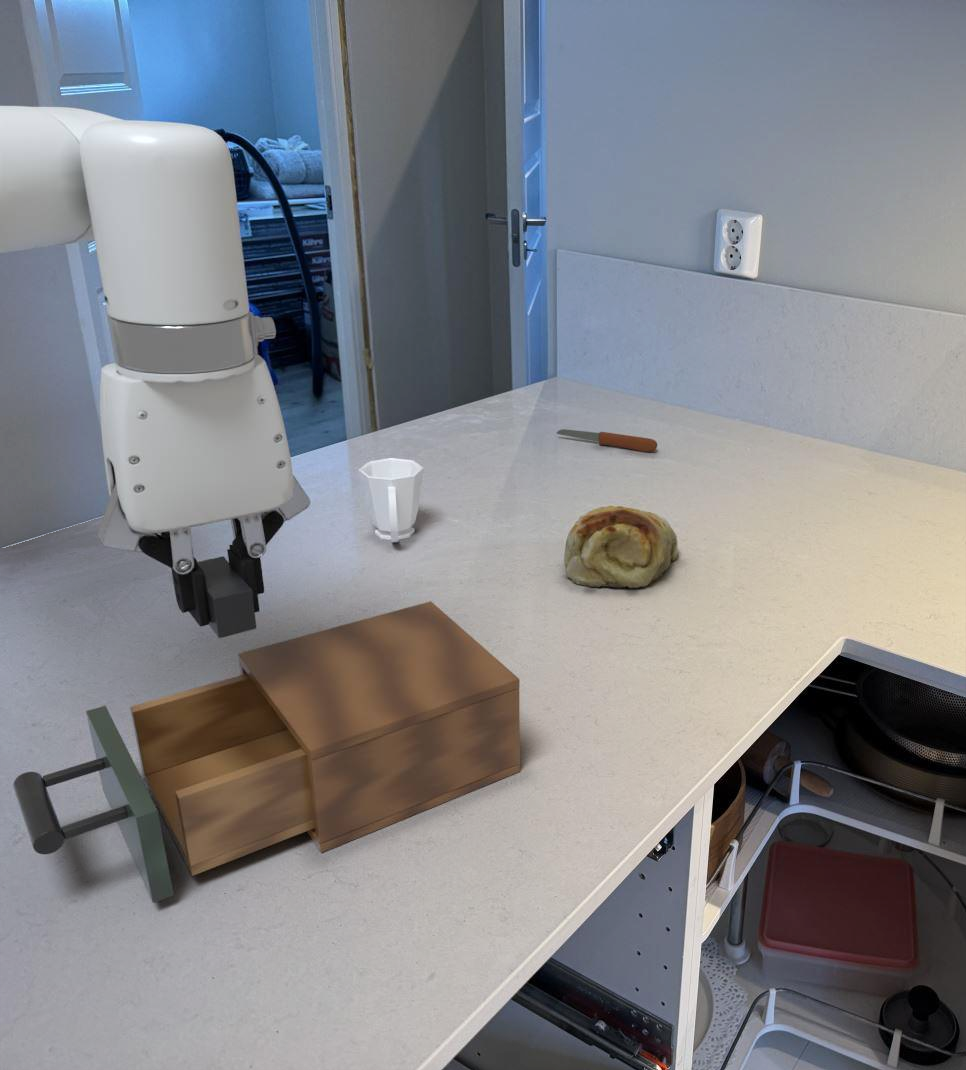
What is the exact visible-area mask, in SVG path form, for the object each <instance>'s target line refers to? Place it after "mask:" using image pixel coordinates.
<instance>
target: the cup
mask: <svg viewBox="0 0 966 1070" xmlns="http://www.w3.org/2000/svg"><path fill="white" fill-rule="evenodd" d="M358 474H359V479H360V482H361V487H362V490H363V494H364V498H365V503H366V507H367V510H368V513H369V516H370V518H371V521H372V524H373V526H375V527H376V529H375V530H374V534H375V535H376V536H377V537H378V538H379V539H380V540H388V541H390V543H399V542H400V540H404V539H409V538H411V536H412V535H413V534H414V533H415V528H414V527H413V525H414V524H415V523H416V520H417V515H418V511H419V507H420V499H421V491H422V483H423V476H424V475H423V474H424V467H423V466H422V465H421V464H419V463H418V462H416V461H415V460H413V459H404V458H395V457H389V458H382V459H375V460H370V461H367V462H366V463H365V464H364V465H362V466H361V467H360V468H359V469H358Z"/></svg>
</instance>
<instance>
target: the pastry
mask: <svg viewBox="0 0 966 1070" xmlns="http://www.w3.org/2000/svg"><path fill="white" fill-rule="evenodd" d="M678 544H679V543H678V536H677V534H676V532H675V531H674V529H673V528H672V527H671V525H670V522H669V521H668V520H666V518H664V517H662V516H660V515H658V514H657V513H654V512H652V511H651V512H650V511H646V510H640V509H638V508H633V507H626V506H622V505H620V506H615V505H608V506H601V507H597V508H594V509H592V510H590V511H588V512H587V513H585V514H583V515H580V516H579V519H578V520H576V521H575V523H574V525H573V526H572V528H571V529H570V531H569V532H568V534H567V538H566V542H565V546H564V547H565V548H564V554H563V564H564V566H565V568H566V569H565V574H566V575H567V576H566V578H569V579H570V580H571V582H572V583H574V584H577V585H581V586H588V587H589V588H595V587H596V588H601V587H608V588H610V587H612V588H618V589H619V588H620V589H621V588H625V587H628V588H630V589H633V588H634V589H638V588H641V587H643V588H645V587H647V586H649V585H650V584H651V583H654V582H655V581H656V580H659V578H660V577H662V576H663V575H664V572H665V571H667V570H668V568H669V567H670V564H671V562H675V561H676V559H677V558H678V555H679V551H678V550H679V549H678V546H679V545H678Z"/></svg>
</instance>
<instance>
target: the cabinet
mask: <svg viewBox="0 0 966 1070" xmlns="http://www.w3.org/2000/svg"><path fill="white" fill-rule="evenodd" d="M237 659H238V666H239V676H240V675H243V674H248V675H249V677H250V678H251V679H252V681H253V682H254V684H255V685H256V686H257V688H258V689H259V690H260V692H261V693H262V694H263V696H264V697H265V698H266V700H267V701H268V703H269V704H270V705H271V707H272V708H273V709H274V711H275V712H276V713H277V715H278V716H279V717H280V719H281V720H282V721H283V723H284V724H285V726H286V727H287V728H288V730H289V731H290V732H291V734H292V735H293V736H294V738H295V739H296V740H297V742H298V743H299V745H300V746H301V747H302V749H303V750H304V751H305V753H306V754H307V760H308V769H309V778H310V787H311V796H312V806H313V815H314V824H315V828H313V829H311V830H308V831H306V832H307V834H308V836H309V837H310V839H311V840H312V841H313V843H314V845H315V846H316V847H317V849H318V850H319V852H320V853H325V852H327V851H330V850H333V849H334V848H337V847H340V846H342V845H344V844H346V843H349V842H351V841H355V840H357V839H359V838H361V837H363V836H366V835H369V834H371V833H373V832H376V831H378V830H381V829H383V828H385V827H388V826H392V825H393V824H396V823H398V822H400V821H403V820H405V819H408V818H410V817H413V816H415V815H417V814H421V813H422V812H425V811H427V810H430V809H432V808H434V807H437V806H440V805H442V804H445V803H447V802H449V801H452V800H454V799H456V798H459V797H461V796H463V795H466V794H469V793H472V792H474V791H476V790H478V789H481V788H484V787H486V786H488V785H490V784H493V783H495V782H498V781H501V780H503V779H505V778H508V777H511V776H513V775H515V774H518V773H520V770H521V769H520V768H521V765H520V763H521V761H520V759H521V755H520V754H521V753H520V752H521V751H520V750H521V749H520V748H521V747H520V745H521V743H520V742H521V741H520V736H521V735H520V734H521V733H520V732H521V731H520V730H521V729H520V728H521V727H520V726H521V725H520V724H521V723H520V715H521V714H520V713H521V712H520V684H521V683H520V681H521V680H520V677H518V676H517V675H516V674H515V673H513V672H512V671H511V670H510V669H509V668H508V667H506V665H504V664H503V663H502V662H501V661H500V660H499V659H497V657H496V656H494V655H493V654H492V653H491V652H489V651H488V649H486V648H485V647H484V646H483V645H482V644H480V642H478V641H477V640H476V639H475V638H473V636H471V635H470V634H469V633H468V632H467V631H466V630H465V629H463V628H462V627H461V626H460V625H459V624H458V623H457V622H455V621H454V620H453V619H452V618H451V617H449V616H448V615H447V614H446V613H445V612H444V611H443V610H441V609H440V607H438V606H437V605H436V604H435V603H433V601H432V600H429V601H426V602H422V603H420V604H419V603H418V604H414V605H412V606H408V607H404V608H401V609H397V610H393V611H390V612H386V613H383V614H382V613H381V614H379V615H375V616H371V617H367V618H364V619H360V620H357V621H353V622H349V623H346V624H341V625H338V626H335V627H330V628H327V629H324V630H319V631H316V632H312V633H308V634H305V635H301V636H297V637H294V638H290V639H286V640H283V641H279V642H275V643H272V644H268V645H265V646H260V647H258V648H254V649H250V650H246V651H242V652H238V653H237Z"/></svg>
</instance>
